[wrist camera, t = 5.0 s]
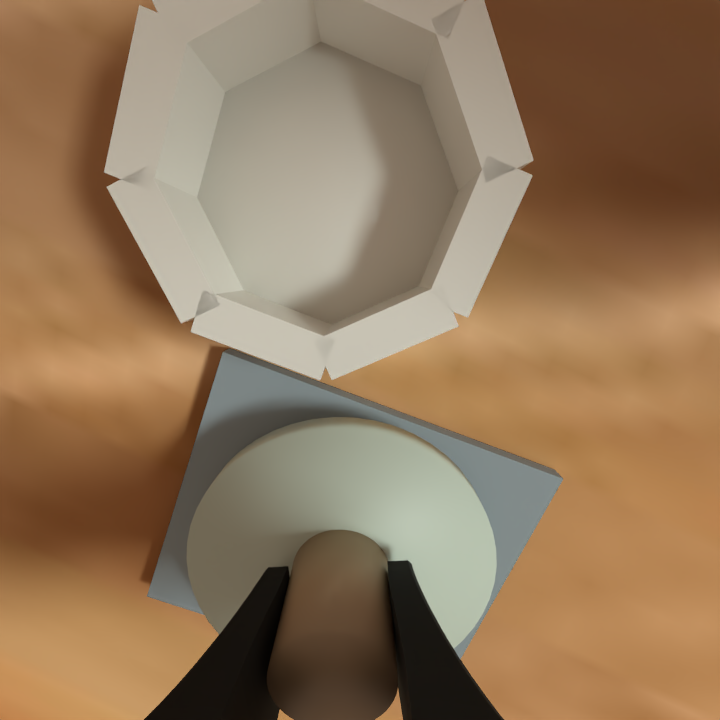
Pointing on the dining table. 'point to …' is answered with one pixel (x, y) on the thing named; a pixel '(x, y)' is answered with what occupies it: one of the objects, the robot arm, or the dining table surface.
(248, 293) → the octagonal storage bin
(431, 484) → the cover
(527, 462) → the mat
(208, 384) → the dining table surface
